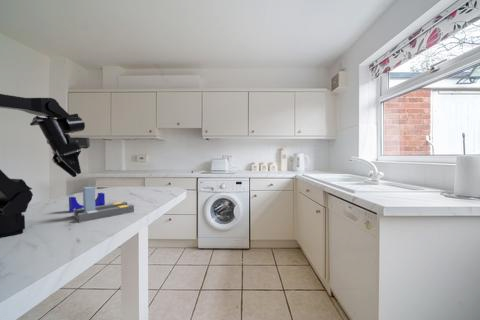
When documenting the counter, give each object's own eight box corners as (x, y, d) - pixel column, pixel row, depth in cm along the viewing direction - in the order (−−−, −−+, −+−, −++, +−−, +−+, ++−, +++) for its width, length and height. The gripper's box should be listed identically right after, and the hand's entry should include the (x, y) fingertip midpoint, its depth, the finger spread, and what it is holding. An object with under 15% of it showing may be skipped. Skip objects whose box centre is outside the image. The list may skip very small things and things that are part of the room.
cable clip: (100, 205, 99) (100, 192, 99) (104, 206, 97) (104, 193, 96) (68, 211, 90) (67, 196, 90) (71, 213, 87) (71, 198, 87)
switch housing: (79, 222, 75) (79, 214, 75) (73, 216, 82) (73, 209, 82) (134, 211, 88) (133, 205, 88) (125, 207, 95) (125, 201, 95)
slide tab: (85, 215, 79) (85, 188, 79) (83, 213, 82) (82, 187, 81) (95, 213, 81) (94, 187, 81) (93, 211, 84) (92, 186, 83)
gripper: (86, 121, 76) (107, 162, 78) (77, 134, 89) (95, 169, 91) (46, 130, 68) (71, 175, 70) (42, 143, 81) (63, 181, 83)
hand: (77, 175), depth 79 cm, fingers open, 9 cm apart
